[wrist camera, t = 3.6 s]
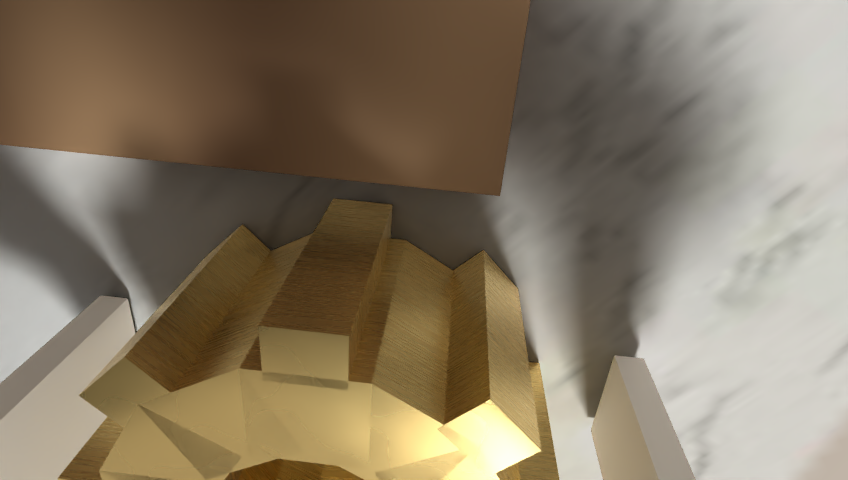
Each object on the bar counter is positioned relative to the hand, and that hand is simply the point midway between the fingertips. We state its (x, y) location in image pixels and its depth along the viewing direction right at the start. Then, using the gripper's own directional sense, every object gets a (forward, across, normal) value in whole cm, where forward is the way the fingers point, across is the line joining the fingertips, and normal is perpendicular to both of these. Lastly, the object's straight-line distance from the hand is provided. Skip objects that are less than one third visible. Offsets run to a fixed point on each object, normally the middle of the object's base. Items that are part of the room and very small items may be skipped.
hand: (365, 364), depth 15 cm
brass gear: (0, 0, 0) cm, 0 cm away
